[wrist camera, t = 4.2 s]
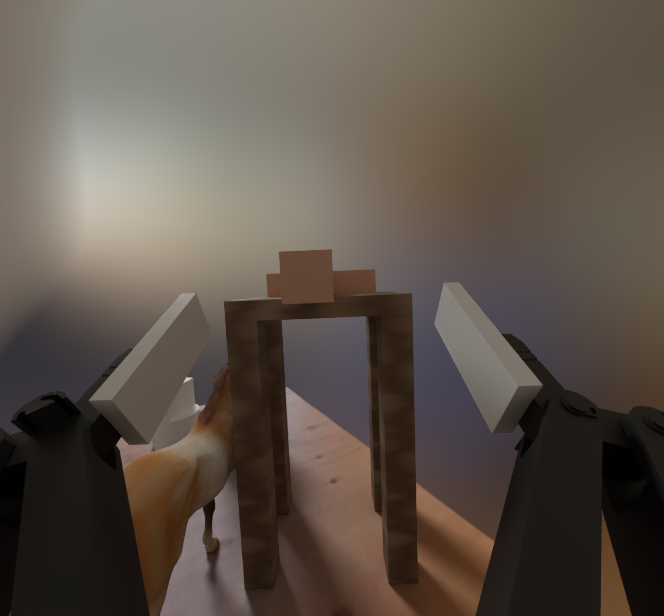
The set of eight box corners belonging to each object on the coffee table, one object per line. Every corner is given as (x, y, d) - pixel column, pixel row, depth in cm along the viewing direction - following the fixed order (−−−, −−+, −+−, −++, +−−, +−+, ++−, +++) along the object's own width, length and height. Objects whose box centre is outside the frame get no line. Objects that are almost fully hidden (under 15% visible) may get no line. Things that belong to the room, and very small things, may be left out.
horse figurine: (238, 483, 43) (229, 358, 41) (283, 487, 41) (276, 359, 40) (-112, 970, 12) (-195, 562, 11) (16, 1050, 11) (-59, 593, 9)
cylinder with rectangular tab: (173, 427, 62) (169, 377, 61) (209, 428, 60) (205, 377, 60) (141, 451, 53) (135, 393, 52) (183, 453, 52) (177, 393, 51)
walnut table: (244, 588, 27) (223, 301, 25) (271, 497, 39) (258, 297, 37) (417, 582, 27) (412, 293, 25) (391, 493, 39) (386, 291, 37)
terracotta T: (187, 308, 15) (183, 256, 15) (273, 296, 37) (271, 275, 37) (429, 298, 15) (428, 245, 15) (372, 292, 37) (371, 270, 37)
